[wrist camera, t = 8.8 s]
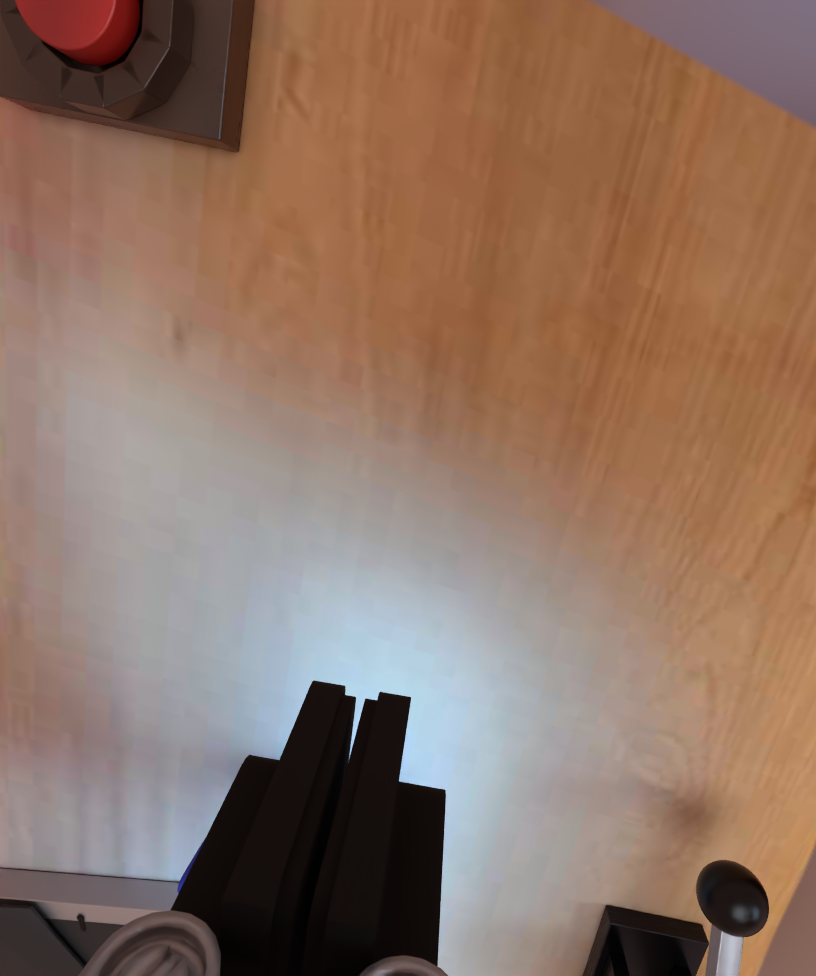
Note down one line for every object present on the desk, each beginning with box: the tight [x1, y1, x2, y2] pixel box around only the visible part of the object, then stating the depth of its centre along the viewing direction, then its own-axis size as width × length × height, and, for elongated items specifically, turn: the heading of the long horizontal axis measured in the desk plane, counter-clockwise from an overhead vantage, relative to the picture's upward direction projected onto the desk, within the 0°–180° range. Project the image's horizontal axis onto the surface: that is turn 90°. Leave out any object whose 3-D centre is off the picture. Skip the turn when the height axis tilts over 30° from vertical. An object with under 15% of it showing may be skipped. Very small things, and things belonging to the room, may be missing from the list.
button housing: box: [0, 0, 254, 152], centre depth 25 cm, size 10×7×4 cm
